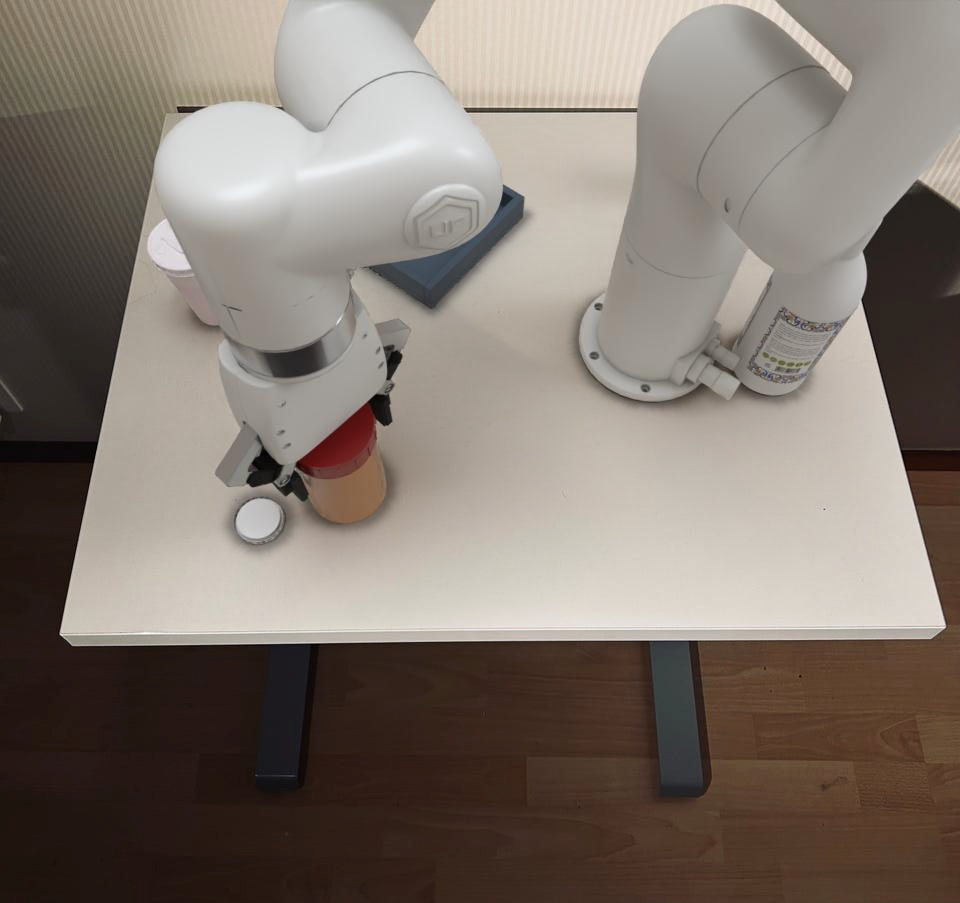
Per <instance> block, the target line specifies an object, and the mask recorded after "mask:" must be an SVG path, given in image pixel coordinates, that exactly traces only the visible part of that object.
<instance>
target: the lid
mask: <svg viewBox="0 0 960 903" xmlns="http://www.w3.org/2000/svg"><path fill="white" fill-rule="evenodd" d="M377 430H378V429H377V420H376V419H375V415H373V412H372V409H371V407H370V405H369V403H368V402H366V403H365V404H364V405H363V406H362V407H361V408H360V409H358V410H357V411H356V412H355V413H354V414H353V415H352V416H351V417H349V418H348V419H347V420H346V421H345V422H344V423H343V424H341V425H340V426H339V427H338V428H337V429H336V430H335V431H333V432H332V433H331V434H330V435H329V436H328V437H326V438H325V439H324V440H323V441H322V442H321V443H319V444H318V445H317V446H316V447H315V448H314V449H312V450H311V451H310V452H309V453H308V454H306V455H305V456H304V457H302V458H301V459H300V460H298V461H297V462H296V465H295V467H296V468H297V469H299V470H300V471H302V472H303V474H307V475H310V476H313V477H318V478H321V479H323V478H336V477H342V476H344V475H346V474H349V473H351V472H353V471H355V470H356V469H359V467H360V466H361V465H362V464H364V463H365V462H366V460H367V459H368V458H369V456H371V453H372V451H373V449H374V447H375V444H376V440H377V441H378V431H377Z"/></svg>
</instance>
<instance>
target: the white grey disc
mask: <svg viewBox="0 0 960 903" xmlns="http://www.w3.org/2000/svg"><path fill="white" fill-rule="evenodd" d="M284 524H285V513H284V510H283V508H282V507H281V505H280V504H279V502H278V501H276V500H275V499H273V498H271V497H269V496H265V495H260V496H259V495H258V496H254V497H253V496H252V497H251V498H248V499H247V500H245V501H244V502H243V503H241V504H240V505H239V506H238V508H237V510H236V511H235V514H234V517H233V526H234V529H235V531H236V533H237V534H238V536H239V537H240V538H241V539H242V540H243V541H245V542H246V543H249V544H253V545H262V544H266V543H268V542H271V541H272V540H274V539H276V537H278V536H279V534H280V533H281V532H282V529H283V528H284Z"/></svg>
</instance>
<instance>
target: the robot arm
mask: <svg viewBox="0 0 960 903" xmlns="http://www.w3.org/2000/svg"><path fill="white" fill-rule="evenodd" d="M774 1H775V2H776V3H777V5H779V7H781V9H783V10H784V11H785V12H786V13H787V14H788V16H790V17H791V18H792V19H793V20H794V21H795V22H796V23H797V24H799V26H801V27H802V28H803V29H804V30H805V31H806V32H807V33H808V34H809V35H810V36H812V38H814V39H815V40H816V41H817V42H818V43H819V44H820V45H821V46H823V47H824V48H825V49H826V50H827V51H828V52H829V53H830V54H832V56H833V57H834V58H835V59H836V60H837V61H838V62H839V63H840V64H841V65H842V66H843V67H844V68H845V69H847V70H848V71H849V72H850V75H851V78H852V79H851V82H850V84H849V88H848V90H847V89H846V88H845V87H844V86H843V85H842V84H840V82H838V81H837V80H836V78H834V77H833V76H832V75H831V73H830V71H828V69H827V68H826V67H825V66H823V64H821V62H819V61H818V60H817V59H816V58H815V57H814V56H813V55H812V54H811V53H810V52H809V51H808V50H806V49H805V47H803V46H802V44H800V43H799V42H798V41H797V40H796V39H795V38H794V37H793V36H792V35H790V34H789V33H788V32H787V31H786V30H785V29H783V28H782V27H781V26H780V25H778V24H777V23H776V22H774V21H773V20H772V19H770V18H769V17H768V16H765V15H764V14H762V13H760V12H758V11H757V10H754V9H752V8H750V7H746V6H743V5H739V4H730V3H721V4H712V5H709V6H706V7H703V8H699V9H697V10H695V11H693V12H691V13H689V14H688V15H687V16H685V17H684V18H682V19H680V21H678V22H677V23H675V25H674V26H673V27H671V29H670V30H669V31H668V32H667V33H666V35H664V36H663V37H662V39H661V40H660V42H659V43H658V45H657V46H656V48H655V50H654V51H653V53H652V55H651V57H650V59H649V61H648V64H647V66H646V68H645V70H644V74H643V76H642V80H641V84H640V88H639V93H638V97H637V98H638V99H637V107H636V108H637V109H636V128H635V129H636V130H635V132H636V133H635V134H636V139H635V140H636V144H635V145H636V146H635V147H636V148H635V151H636V153H635V168H634V175H633V179H632V180H633V181H632V185H631V190H630V195H629V199H628V204H627V208H626V212H625V215H624V218H623V221H622V222H623V223H622V226H621V231H620V234H619V239H618V243H617V247H616V251H615V255H614V258H613V263H612V267H611V271H610V275H609V279H608V283H607V287H606V291H605V292H603V293H601V294H600V295H599V296H598V297H596V298H595V299H594V300H593V301H592V302H591V304H590V305H588V307H587V308H586V310H585V312H584V315H583V317H582V319H581V323H580V325H579V332H578V334H579V335H578V346H579V352H580V355H581V357H582V361H583V363H584V364H585V366H586V367H587V369H588V371H589V372H590V373H591V374H592V375H593V377H595V379H596V380H597V381H598V382H599V383H601V384H602V385H603V386H604V387H606V388H607V389H608V390H610V391H612V392H614V393H616V394H617V395H620V396H622V397H625V398H628V399H631V400H635V401H641V402H664V401H665V402H666V401H670V400H674V399H678V398H680V397H683V396H685V395H687V394H689V393H690V392H692V391H693V390H695V389H696V388H698V387H699V386H700V385H701V384H704V386H706V387H708V388H710V389H711V391H713V392H714V393H716V394H718V395H719V396H721V397H722V398H724V399H726V400H727V401H729V400H730V399H731V398H732V397H733V395H734V394H735V392H736V391H737V390H738V388H739V386H740V385H741V383H742V382H741V381H740V380H739V379H738V378H737V377H735V376H733V375H731V374H730V373H729V372H727V371H725V370H721V369H720V368H718V367H716V366H715V365H714V363H715V361H717V362H718V363H720V365H722V366H724V368H727V369H728V370H730V371H732V372H734V369H735V368H736V366H737V365H738V363H739V362H740V360H741V357H740V356H738V355H736V354H735V353H733V352H732V350H728V349H727V348H725V347H723V346H721V345H720V343H721V341H720V340H718V339H717V335H718V333H719V331H720V330H721V327H722V324H721V323H720V322H719V321H717V320H716V318H717V316H718V315H719V311H720V309H721V308H722V305H723V303H724V301H725V299H726V297H727V295H728V293H729V290H730V289H731V287H732V284H733V282H734V280H735V277H736V275H737V274H738V271H739V269H740V267H741V264H742V262H743V261H744V258H745V256H746V254H747V253H748V251H749V250H750V251H751V252H752V253H753V254H754V255H755V257H757V258H758V259H760V261H762V262H763V263H764V264H766V265H767V266H769V267H770V268H772V269H773V270H774V269H776V270H778V271H781V272H783V273H789V274H805V273H810V272H813V271H816V270H819V269H821V268H823V267H825V266H827V265H829V264H831V263H833V262H834V261H836V260H837V259H839V258H840V257H842V256H843V255H844V254H846V253H847V252H848V251H849V250H850V249H852V248H853V247H854V246H855V245H856V244H857V243H859V242H860V241H861V240H862V239H863V238H864V237H865V236H866V235H867V234H868V233H869V232H870V231H871V230H872V229H873V228H874V227H875V226H876V225H877V224H878V223H879V222H880V221H881V219H882V218H883V219H884V218H885V217H886V215H887V214H888V213H889V212H890V211H891V210H892V209H893V208H894V206H895V205H897V203H898V202H899V201H900V200H901V198H902V197H903V196H904V195H905V194H906V193H907V192H908V191H909V190H910V188H911V187H912V186H913V185H914V184H915V183H916V182H917V180H918V179H919V178H920V177H921V176H922V175H923V174H924V172H925V171H927V169H928V168H929V167H930V166H931V165H932V164H933V162H934V161H936V159H937V158H938V157H939V156H940V154H942V152H943V151H944V150H945V149H946V148H947V147H948V146H949V144H950V143H951V142H952V141H953V140H954V138H955V137H956V136H957V135H958V134H959V133H960V0H774ZM435 2H436V0H288V3H287V6H286V8H285V11H284V13H283V17H282V19H281V22H280V25H279V30H278V33H277V38H276V43H275V48H274V54H273V79H274V85H275V89H276V93H277V98H278V100H279V102H280V105H281V107H282V109H281V108H278V107H276V106H273V105H272V104H271V105H270V104H267V103H263V102H257V101H250V100H234V101H227V102H220V103H216V104H212V105H209V106H205V107H203V108H201V109H199V110H198V109H197V110H196V111H194V112H192V113H191V114H188V115H187V116H185V117H184V118H182V119H181V120H180V121H178V122H177V123H176V124H175V125H174V126H173V127H172V129H170V130H169V131H168V132H167V134H166V135H165V136H164V138H163V139H162V141H161V143H160V145H159V147H158V149H157V152H156V154H155V157H154V158H155V159H154V163H153V183H154V184H153V185H154V190H155V194H156V197H157V199H158V202H159V204H160V207H161V209H162V212H163V214H164V216H165V217H166V218H167V220H168V222H169V224H170V226H171V228H172V230H173V232H174V234H175V236H176V238H177V240H178V242H179V245H180V247H181V249H182V251H183V253H184V255H185V257H186V259H187V261H188V263H189V265H190V267H191V269H192V271H193V273H194V275H195V277H196V279H197V281H198V283H199V285H200V287H201V289H202V291H203V293H204V296H205V298H206V300H207V302H208V304H209V306H210V308H211V310H212V312H213V314H214V316H215V318H216V320H217V322H218V324H219V325H218V326H219V328H220V330H221V333H222V334H223V337H224V338H223V340H222V341H221V342H220V343H219V344H218V346H217V362H218V369H219V370H218V371H219V375H220V379H221V384H222V387H223V391H224V395H225V397H226V399H227V402H228V406H229V408H230V410H231V413H232V415H233V418H234V419H235V421H236V423H237V425H238V426H239V428H240V431H239V433H238V434H237V436H236V438H235V439H234V441H233V442H232V444H231V446H230V447H229V449H228V450H227V452H226V454H225V455H224V457H223V458H222V460H221V462H220V463H219V464H218V466H217V467H216V470H215V472H214V475H215V476H216V478H217V479H219V480H220V481H221V482H222V483H223V484H224V485H225V486H226V487H227V488H237V487H245V486H246V485H248V486H249V487H250V488H251V489H254V488H258V487H262V486H265V485H269V484H272V485H273V486H274V488H275V489H277V491H278V492H280V494H281V495H282V496H284V497H288V496H289V495H290V494H291V493H292V494H293V495H294V496H295V497H296V498H297V499H298V500H299V501H300V502H302V503H305V501H306V500H308V499H309V497H308V495H309V493H308V491H307V489H306V486H305V484H304V482H303V480H302V478H301V476H300V475H299V473H298V472H296V469H295V465H296V462H297V461H298V460H300V459H301V458H302V457H304V456H305V455H306V454H308V453H309V452H310V451H311V450H312V449H314V448H315V447H316V446H317V445H318V444H319V443H321V442H322V441H323V440H324V439H325V438H326V437H328V436H329V435H330V434H331V433H332V432H333V431H335V430H336V429H337V428H338V427H339V426H340V425H341V424H343V423H344V422H345V421H346V420H347V419H348V418H349V417H351V416H352V415H353V414H354V413H355V412H356V411H357V410H358V409H360V408H361V407H362V406H363V405H364V404H365V403H366V402H368V403H369V405H370V407H371V409H372V412H373V415H375V419H376V422H378V423H379V424H381V426H383V428H384V427H389V426H390V425H391V424H393V422H394V419H393V415H392V410H391V404H392V401H391V396H390V393H391V392H392V391H393V390H394V389H395V385H396V383H395V381H393V379H392V378H393V376H394V375H395V373H396V371H397V369H398V368H399V366H400V365H401V363H402V360H403V357H404V355H403V353H402V350H404V349H405V347H406V344H407V342H408V340H409V337H410V335H411V332H412V328H411V327H410V326H408V325H407V324H406V323H405V322H403V321H402V320H401V319H400V318H393V319H388V320H386V321H385V320H384V321H381V322H378V323H374V321H373V319H372V317H371V315H370V313H369V311H368V309H367V307H366V305H364V303H363V301H362V299H361V298H360V296H359V295H358V294H357V292H356V291H355V290H354V289H353V287H352V286H353V285H352V282H351V281H352V279H353V277H352V276H354V274H355V271H356V270H358V269H360V268H364V267H368V266H373V265H379V264H386V263H393V262H400V261H407V260H412V259H418V258H423V257H427V256H431V255H435V254H439V253H442V252H445V251H447V250H450V249H453V248H455V247H458V246H460V245H461V244H463V243H465V242H467V241H469V240H470V239H472V238H473V237H474V236H476V235H477V234H478V233H480V232H481V231H482V230H483V229H484V228H485V227H486V226H487V225H488V223H489V222H490V221H491V220H492V218H493V217H494V215H495V213H496V211H497V209H498V207H499V204H500V201H501V198H502V192H503V184H504V180H503V177H504V176H503V173H502V172H503V171H502V169H501V168H502V167H501V164H500V162H499V160H498V157H497V154H496V152H495V151H494V149H493V147H492V145H491V144H490V142H489V141H488V139H487V138H486V136H485V134H484V133H483V132H482V131H481V129H480V128H479V127H478V126H477V124H476V123H475V121H474V120H473V119H472V118H471V116H470V115H469V114H468V113H467V111H466V110H465V108H464V107H463V106H462V104H461V103H460V102H459V100H458V99H457V98H456V97H455V95H454V93H453V92H452V91H451V90H450V88H449V87H448V86H447V84H446V83H445V81H444V80H443V79H442V78H441V76H440V74H439V73H438V72H437V71H436V70H435V68H434V66H433V65H432V64H431V63H430V61H429V60H428V58H427V57H426V56H425V54H423V52H422V51H421V49H420V48H419V46H418V45H417V44H416V42H415V39H416V38H417V35H418V33H419V31H420V29H421V27H422V25H423V24H424V23H425V22H424V21H425V20H426V18H427V16H428V14H429V12H430V11H431V9H432V7H433V5H434V4H435ZM166 218H165V219H166Z"/></svg>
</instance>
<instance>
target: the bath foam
mask: <svg viewBox="0 0 960 903" xmlns="http://www.w3.org/2000/svg"><path fill="white" fill-rule="evenodd" d="M883 221H884V217H883V218H882V219H881V221H880V222H879V223H878V224H877V225H876V226H875V227H874V228H873V229H872V230H871V231H870V232H869V233H868V234H867V235H866V236H865V237H864V238H863V239H862V240H861V241H860V242H859V243H857V244H856V245H855V246H854V247H853V248H852V249H850V250H849V251H848V252H847V253H846V254H844V255H843V256H842V257H840V258H839V259H837V260H836V261H834V262H833V263H831V264H829V265H827V266H825V267H823V268H821V269H819V270H816V271H813V272H810V273H805V274H789V273H783V272H781V271H778V270H776V269H773V271H772V272H771V275H770V276H769V278H768V280H767V282H766V284H765V286H764V288H763V289H762V291H761V293H760V295H759V297H758V299H757V301H756V303H755V304H754V306H753V308H752V310H751V312H750V314H749V315H748V318H747V320H746V321H745V324H744V325H743V327H742V329H741V331H740V333H739V335H738V337H737V339H736V340H735V342H734V345H733V347H732V350H731V352H733V353H735V354H736V355H738V356H740V357H741V360H740V362H739V363H738V365H737V366H736V368H735V369H734V370H733V372H734V374H735V376H736V378H737V379H738V380H740V381H741V383H742V384H743V385H744V386H745V387H747V388H748V389H750V390H752V391H754V392H755V393H758V394H761V395H765V396H782V395H787V394H789V393H791V392H794V391H795V390H797V389H798V388H799V387H801V385H802V384H803V383H804V381H806V378H807V377H808V376H809V375H810V373H811V372H812V371H813V369H814V368H815V367H816V365H817V364H818V362H819V361H820V360H821V358H822V357H823V355H824V354H825V353H826V352H827V350H828V349H829V347H830V346H831V345H832V344H833V342H834V340H835V339H836V338H837V336H838V335H839V333H840V332H841V331H842V330H843V328H844V327H845V325H846V324H847V322H848V321H849V320H850V319H851V317H852V316H853V314H854V313H855V312H856V310H857V308H858V307H859V305H860V303H861V301H862V298H863V296H864V293H865V291H866V286H867V280H868V270H867V263H866V259H865V254H864V250H865V249H866V247H867V245H868V244H869V243H870V241H871V240H872V238H873V237H874V235H875V233H876V232H877V231H878V229H879V227H881V224H882V222H883Z"/></svg>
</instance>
